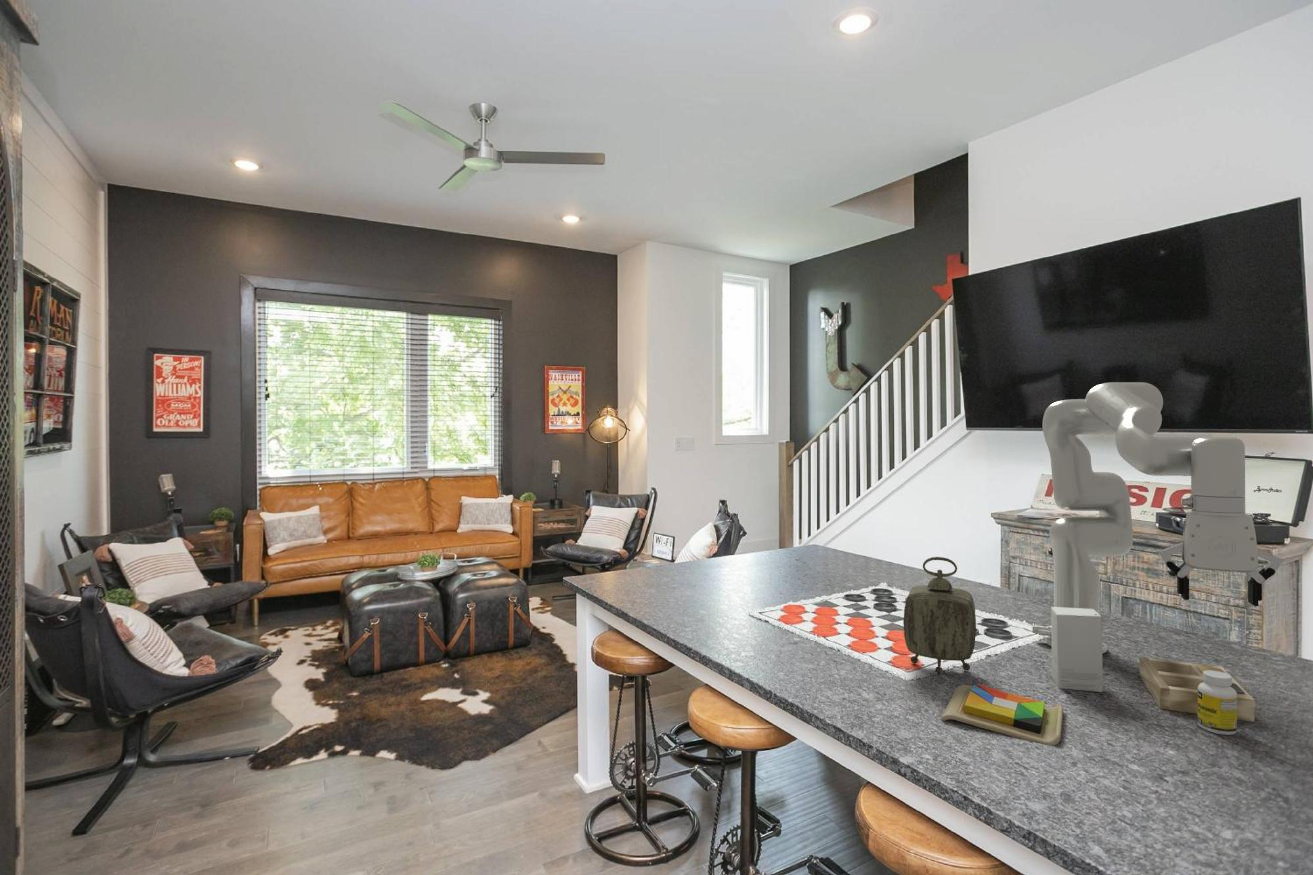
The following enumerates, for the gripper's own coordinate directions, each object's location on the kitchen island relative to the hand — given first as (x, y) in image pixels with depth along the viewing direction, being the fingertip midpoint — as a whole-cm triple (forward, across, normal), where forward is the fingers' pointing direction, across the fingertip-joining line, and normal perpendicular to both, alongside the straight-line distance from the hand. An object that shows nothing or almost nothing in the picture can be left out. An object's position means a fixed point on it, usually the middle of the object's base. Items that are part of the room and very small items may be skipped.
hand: (1218, 601), depth 123 cm
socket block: (+22, -2, +14) cm, 26 cm away
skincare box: (+22, -21, +10) cm, 32 cm away
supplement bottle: (+22, -1, -2) cm, 23 cm away
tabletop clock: (+22, -47, +6) cm, 52 cm away
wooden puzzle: (+23, -34, -14) cm, 43 cm away
